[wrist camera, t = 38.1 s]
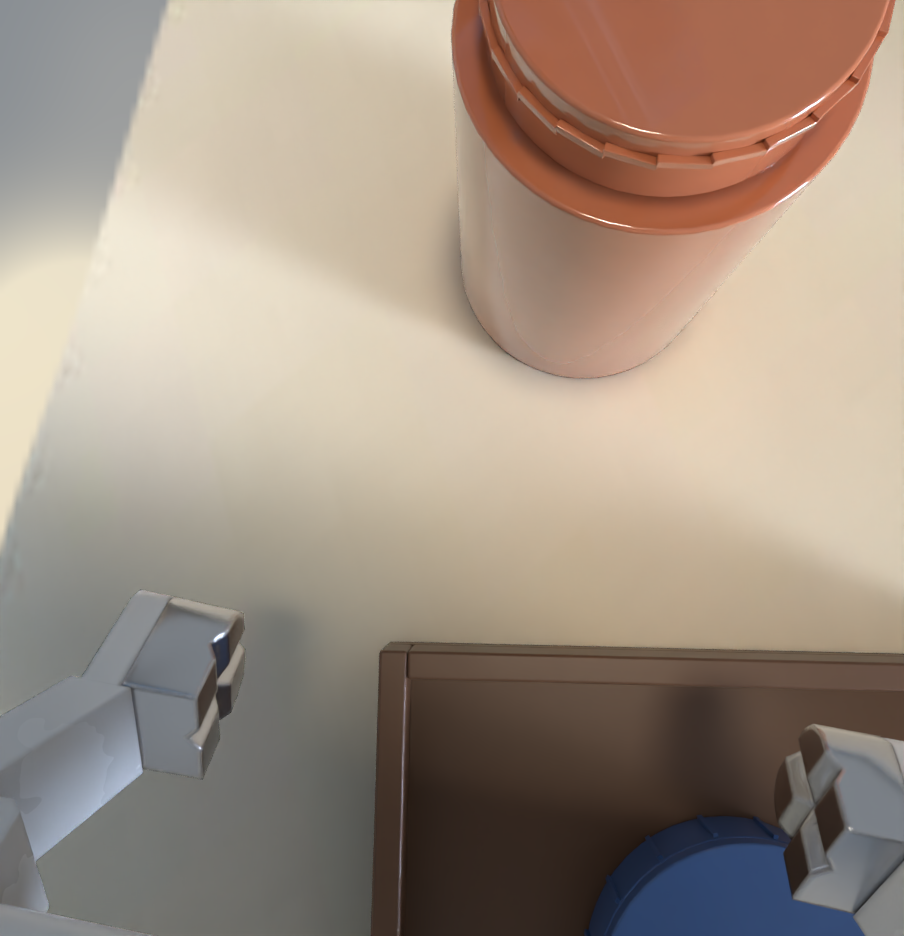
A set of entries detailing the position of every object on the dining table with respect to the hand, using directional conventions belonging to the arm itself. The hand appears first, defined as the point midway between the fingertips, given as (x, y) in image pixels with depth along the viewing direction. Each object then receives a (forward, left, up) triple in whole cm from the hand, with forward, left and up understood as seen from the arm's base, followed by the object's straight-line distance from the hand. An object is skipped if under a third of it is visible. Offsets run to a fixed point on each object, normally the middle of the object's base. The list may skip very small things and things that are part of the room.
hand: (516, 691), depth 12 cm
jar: (+2, +9, -8) cm, 12 cm away
